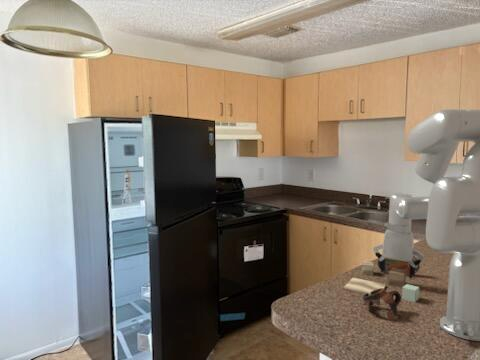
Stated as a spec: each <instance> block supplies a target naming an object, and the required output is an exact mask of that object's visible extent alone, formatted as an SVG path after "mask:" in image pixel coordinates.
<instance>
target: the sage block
mask: <svg viewBox="0 0 480 360" xmlns="http://www.w3.org/2000/svg"><path fill="white" fill-rule="evenodd" d="M401 289H402V291H401V300H405V301H408V302H413V303H416V302H417V301H418V300H419V299H420V297H419V296H420V286H416V285H412V284H408V283H406V284H405V286H403V287H402V288H401Z"/></svg>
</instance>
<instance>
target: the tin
mask: <svg viewBox="0 0 480 360" xmlns="http://www.w3.org/2000/svg"><path fill="white" fill-rule="evenodd" d="M380 254H381V255H382V253H380ZM413 259H414V261H416V260H418V258H417V257H415V255H413ZM377 265H378V269H379V270H380V271H381V269H380V261H379V259H378V258H377ZM410 266H411V264H410V263H409V262H406V261H400V260H394V259H389V258H385V270H384V271H383V272H382V273H384V274H387V275H389V271H390V270H391V269H392V268H395V269H400V270H406V277H409V273H410ZM419 270H420V264H418V265H417V266H415V274H414V275H416V274H417V273H418V272H419Z"/></svg>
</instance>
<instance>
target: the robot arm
mask: <svg viewBox="0 0 480 360" xmlns="http://www.w3.org/2000/svg"><path fill="white" fill-rule="evenodd" d="M406 139H407V141H406V145H407V148H408V151H409V152H411V153H413V154H415V155H416V154H417V155H419V158H418V161H417V163H416V165H415V167H414V171H415V173H416V175H417V176H418V177H420V178H421V179H423V180H424V181H427V182H429V183H431V184H432V187H431V190H430V192H429V196H412V195H411V194H408V193H403V192H401V193H400V192H398V193H397V192H396V193H392V194H391V195H390V197H389V208H388V211H389V212H388V213H389V214H388V222H384V223H383V227H386V228H387V229H385V232H384V237H383V242H382V244H380V245H376V246H374V247H373V248H372V249H373V250H372V251H373V252H374V254H375V257H377V260H378V259H379V261H380V268H379V270H380V269H381V270H380V272H381V273H384V272H383V271H384V270H385V258H389V259H394V260H400V261H406V262H409V263H410V264H411V266H410V273H409V276H408V277H409V278H410V279H411V278H413V276H415V275H416V274H415V266H417V265H418V264H419V265H420V264H421V263H422V262H423V260H424V258H425V254H423V253H421V252H420V251H418V250H416V249H415V243H414V242H415V241H414V233H413V232H412V220H426V223H425V239H426V243H427V245H428V247H429V248H430V249H431V250H432V251H433V252H436V253H439V254H440V253H441V254H453V255H452V256H451V259H450V262H449V270H448V282H447V283H448V284H447V298H446V299H447V300H446V314H445V315H444V316H441V318H440V319H439V326H440V327H441V328H442V330H443V331H445V332H446V333H448V334H451V335H452V336H455V337H457V338H460V339H464V340H467V341H473V342H480V216H478V215H469V216H468V215H463V216H462V215H461V216H460V215H459V214H473V213H475V214H476V213H480V109H460V108H458V109H456V108H455V109H452V108H451V109H449V108H448V109H446V108H445V109H441V110H438V111H436V112H434V113H433V114H431V115H428V117H426V118H425V119H423V120H422V121H420V122H418V123H417V124H416V125H415V126H414V127H412V128H411V130H410V132H409V133H408V136H407V138H406ZM460 142H461V143H462V142H463V143H464V142H473V143H474V144H473V145H472V146H471V147H470V148H469V149H468V151H467V153H465V155H464V158H463V160H462V161H463V162H462V168H461V169H462V170H461V173H460V175H459V176H446V177H445V174H446V172H447V170H448V168H449V166H450V165H451V162H452V160H453V157H454V155H455V153H456V151H457V149H458V146H459V145H460ZM379 250H381V253H380V252H379ZM381 254H382V255H381ZM413 256H417V257H418V258H417V260H416V261H414V259H413Z"/></svg>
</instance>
